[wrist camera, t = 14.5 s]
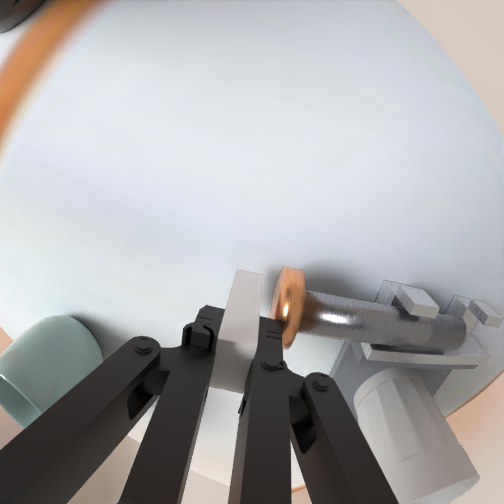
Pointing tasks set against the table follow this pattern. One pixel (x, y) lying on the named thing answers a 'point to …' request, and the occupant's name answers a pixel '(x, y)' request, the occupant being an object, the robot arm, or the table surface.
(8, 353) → the cup
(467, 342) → the lug rail
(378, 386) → the cup
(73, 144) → the table surface
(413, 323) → the lock pin
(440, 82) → the table surface
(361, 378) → the dock
